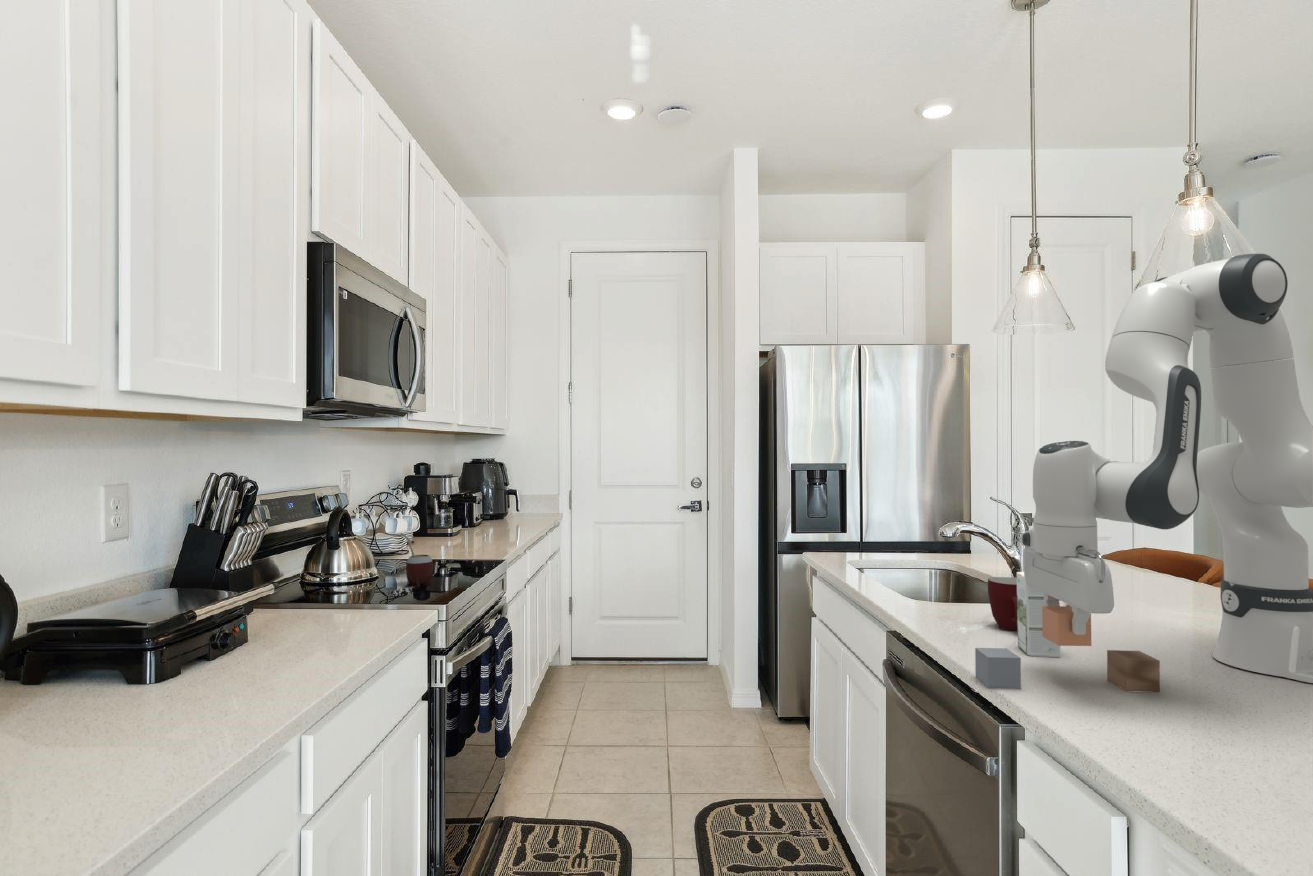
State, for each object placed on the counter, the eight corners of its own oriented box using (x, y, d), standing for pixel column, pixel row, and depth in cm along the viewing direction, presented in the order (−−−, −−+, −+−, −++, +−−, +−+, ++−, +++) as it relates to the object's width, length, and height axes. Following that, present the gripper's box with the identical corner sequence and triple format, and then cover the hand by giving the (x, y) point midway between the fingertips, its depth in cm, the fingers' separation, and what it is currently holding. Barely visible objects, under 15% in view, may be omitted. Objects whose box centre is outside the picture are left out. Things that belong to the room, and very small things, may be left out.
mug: (1045, 637, 135) (1045, 587, 135) (1003, 637, 135) (1003, 587, 135) (1020, 623, 145) (1019, 577, 145) (981, 623, 146) (981, 576, 146)
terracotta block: (1074, 636, 111) (1073, 606, 111) (1091, 646, 106) (1090, 614, 106) (1042, 636, 111) (1042, 606, 111) (1058, 645, 106) (1058, 614, 106)
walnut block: (1139, 681, 110) (1138, 650, 110) (1159, 692, 105) (1159, 660, 105) (1107, 680, 110) (1107, 650, 111) (1126, 692, 106) (1126, 660, 106)
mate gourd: (435, 582, 189) (435, 528, 189) (429, 588, 181) (429, 532, 181) (407, 583, 188) (407, 529, 188) (400, 589, 180) (400, 533, 180)
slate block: (1006, 678, 112) (1006, 648, 112) (1020, 689, 107) (1020, 657, 107) (975, 677, 112) (975, 647, 112) (988, 688, 107) (988, 657, 107)
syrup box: (1061, 658, 122) (1061, 577, 122) (1025, 656, 123) (1025, 576, 123) (1049, 648, 127) (1049, 571, 128) (1015, 646, 129) (1015, 570, 129)
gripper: (1125, 552, 98) (1127, 647, 98) (1052, 533, 119) (1054, 612, 118) (1080, 552, 99) (1082, 647, 98) (1015, 533, 119) (1016, 612, 119)
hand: (1066, 627), depth 109 cm, fingers closed on terracotta block, 5 cm apart
